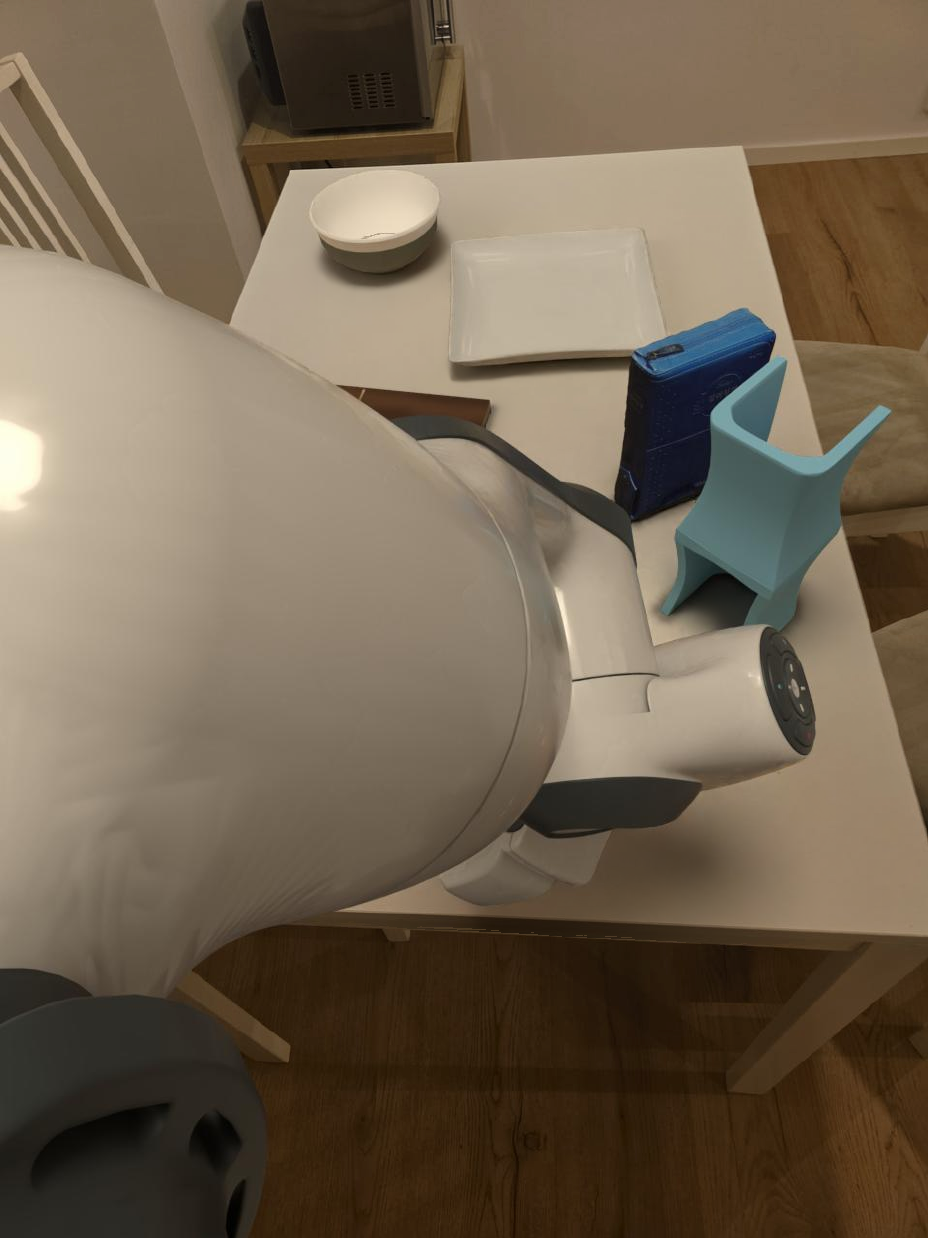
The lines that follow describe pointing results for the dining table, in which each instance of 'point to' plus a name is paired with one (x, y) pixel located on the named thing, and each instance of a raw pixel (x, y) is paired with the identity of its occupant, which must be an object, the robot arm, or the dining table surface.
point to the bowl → (376, 219)
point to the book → (682, 407)
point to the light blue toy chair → (763, 503)
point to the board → (421, 404)
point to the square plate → (552, 297)
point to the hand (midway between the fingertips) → (448, 774)
